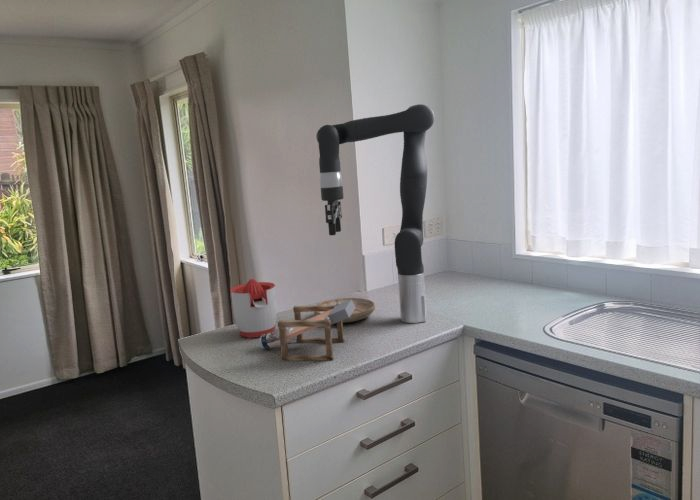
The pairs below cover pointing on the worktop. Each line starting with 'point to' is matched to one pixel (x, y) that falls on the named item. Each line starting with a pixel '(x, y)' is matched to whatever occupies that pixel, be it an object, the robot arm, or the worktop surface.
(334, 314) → the trapdoor
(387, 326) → the worktop surface
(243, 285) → the citrus juicer
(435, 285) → the worktop surface
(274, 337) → the beer can
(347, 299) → the ceramic bowl
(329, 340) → the frame
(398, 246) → the robot arm
